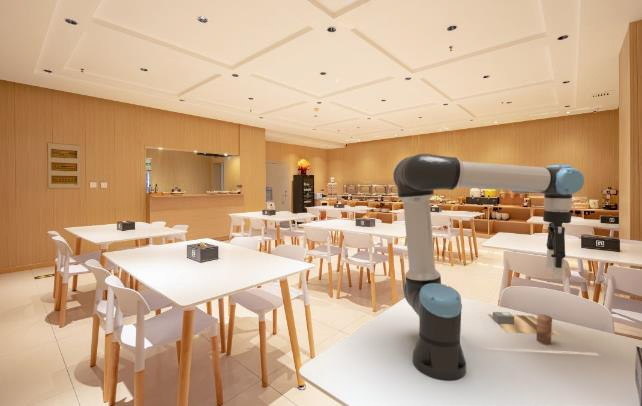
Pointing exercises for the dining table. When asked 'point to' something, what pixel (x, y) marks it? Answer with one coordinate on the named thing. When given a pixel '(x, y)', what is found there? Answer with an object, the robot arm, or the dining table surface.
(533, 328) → the board
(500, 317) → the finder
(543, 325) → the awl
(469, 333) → the dining table surface
